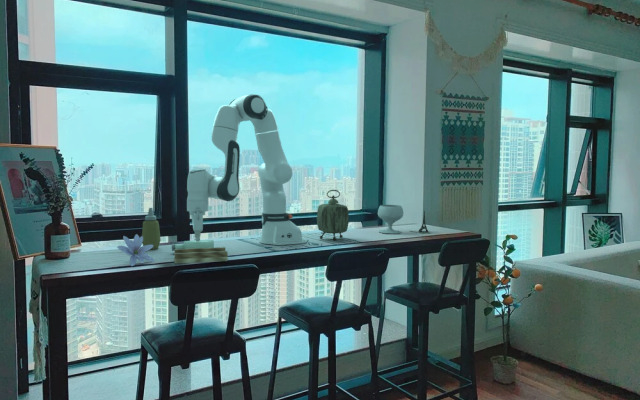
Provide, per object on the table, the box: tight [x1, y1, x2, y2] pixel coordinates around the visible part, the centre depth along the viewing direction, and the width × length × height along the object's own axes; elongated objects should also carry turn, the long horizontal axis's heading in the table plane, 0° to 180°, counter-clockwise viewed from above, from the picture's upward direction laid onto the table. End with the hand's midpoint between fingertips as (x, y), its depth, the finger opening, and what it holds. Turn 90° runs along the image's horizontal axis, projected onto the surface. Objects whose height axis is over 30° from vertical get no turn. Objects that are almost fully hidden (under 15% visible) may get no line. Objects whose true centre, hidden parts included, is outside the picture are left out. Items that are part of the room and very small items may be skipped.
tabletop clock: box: [316, 189, 350, 241], centre depth 242 cm, size 14×9×25 cm, turn 108°
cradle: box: [174, 246, 229, 264], centre depth 193 cm, size 20×12×4 cm, turn 106°
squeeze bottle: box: [141, 207, 162, 250], centre depth 214 cm, size 8×8×18 cm
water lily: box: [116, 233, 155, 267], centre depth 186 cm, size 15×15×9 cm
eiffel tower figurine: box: [410, 208, 432, 235], centre depth 272 cm, size 15×10×13 cm
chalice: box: [377, 204, 404, 235], centre depth 268 cm, size 14×14×15 cm
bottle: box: [171, 239, 215, 252], centre depth 207 cm, size 17×5×5 cm, turn 106°
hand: (197, 239), depth 207 cm, fingers open, 8 cm apart
